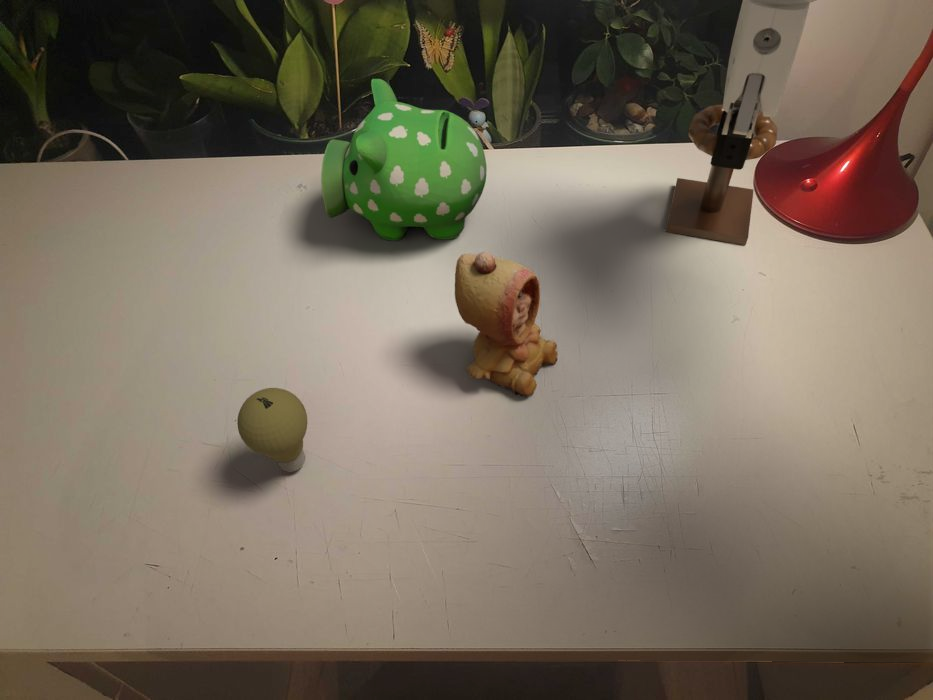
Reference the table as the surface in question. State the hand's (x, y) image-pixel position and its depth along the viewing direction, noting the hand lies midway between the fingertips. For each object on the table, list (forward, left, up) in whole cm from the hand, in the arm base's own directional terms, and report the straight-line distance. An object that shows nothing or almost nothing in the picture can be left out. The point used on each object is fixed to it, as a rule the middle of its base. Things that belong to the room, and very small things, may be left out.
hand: (728, 155), depth 69 cm
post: (0, -3, -10) cm, 11 cm away
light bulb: (+32, +42, -11) cm, 54 cm away
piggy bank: (+34, +7, -11) cm, 36 cm away
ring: (0, -3, +1) cm, 3 cm away
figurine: (+17, +25, -11) cm, 32 cm away
